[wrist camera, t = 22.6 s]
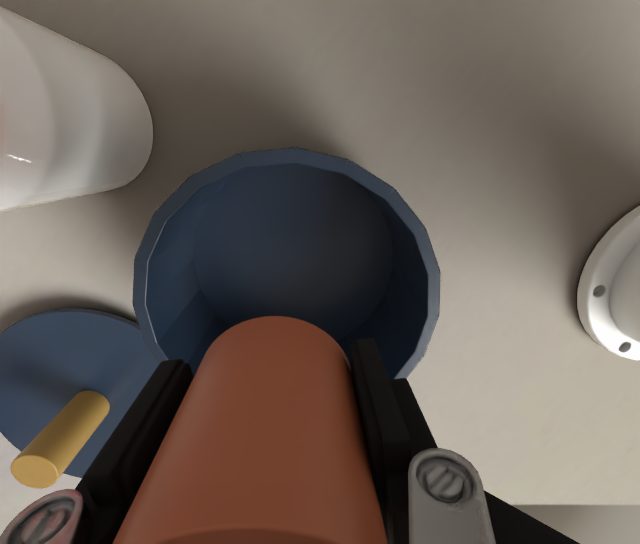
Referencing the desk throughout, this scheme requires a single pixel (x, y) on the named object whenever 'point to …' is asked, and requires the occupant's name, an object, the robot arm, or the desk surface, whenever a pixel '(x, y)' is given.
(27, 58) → the pill bottle
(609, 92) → the desk surface
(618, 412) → the desk surface
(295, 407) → the candle
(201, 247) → the tin
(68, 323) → the lid
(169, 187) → the desk surface
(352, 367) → the robot arm
